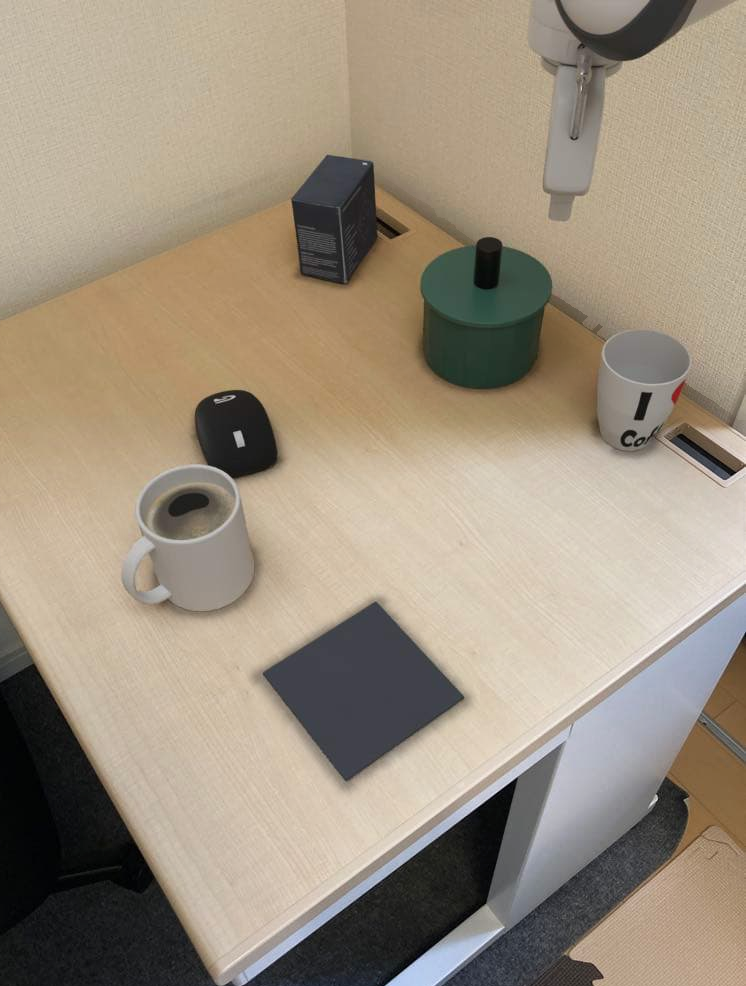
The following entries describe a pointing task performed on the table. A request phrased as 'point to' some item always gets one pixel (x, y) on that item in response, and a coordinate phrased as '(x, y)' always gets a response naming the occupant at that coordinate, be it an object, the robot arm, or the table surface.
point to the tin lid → (486, 285)
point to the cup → (639, 385)
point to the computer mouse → (235, 433)
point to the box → (335, 218)
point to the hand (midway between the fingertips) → (561, 186)
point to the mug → (191, 539)
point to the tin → (480, 350)
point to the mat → (362, 689)
